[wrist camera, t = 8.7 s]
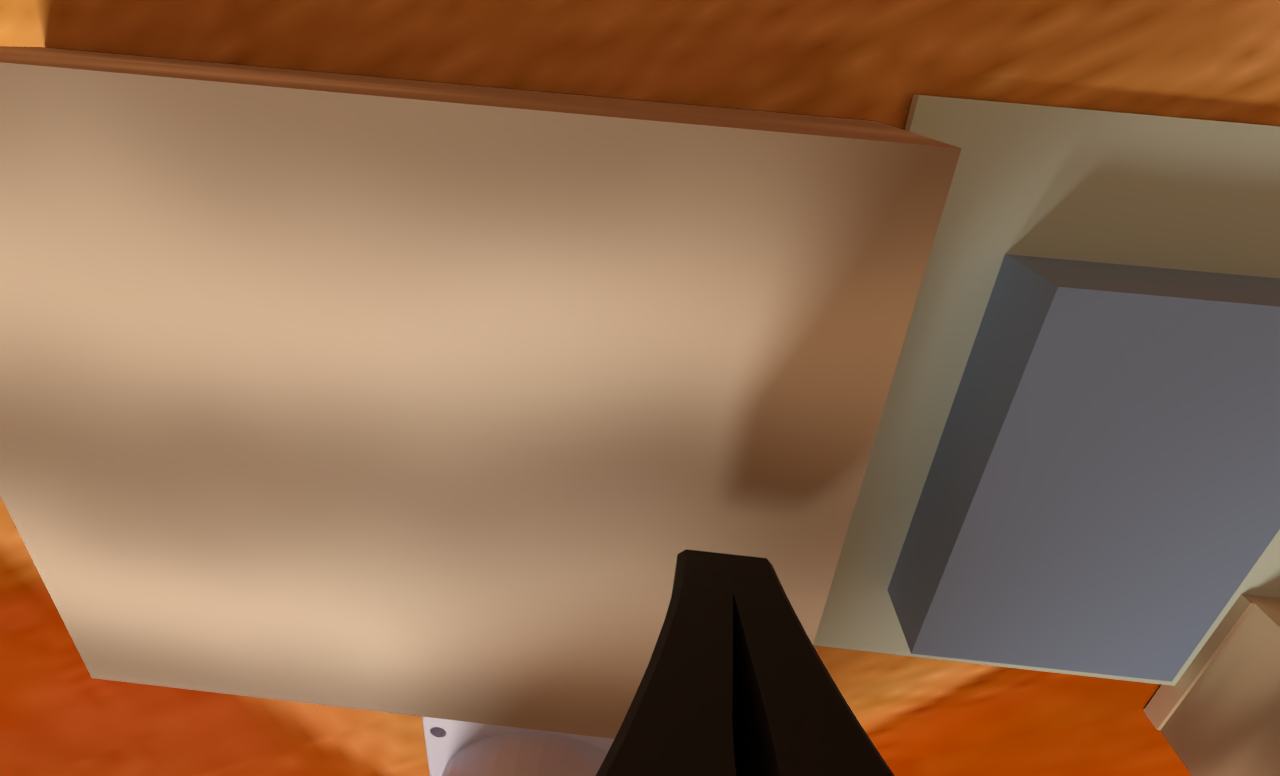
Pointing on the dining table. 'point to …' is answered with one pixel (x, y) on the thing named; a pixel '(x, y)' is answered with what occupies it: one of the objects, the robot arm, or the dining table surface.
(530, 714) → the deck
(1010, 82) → the dining table surface
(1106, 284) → the blue-grey rectangular block
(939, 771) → the dining table surface
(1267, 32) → the dining table surface
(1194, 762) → the oak rack
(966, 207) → the mat
